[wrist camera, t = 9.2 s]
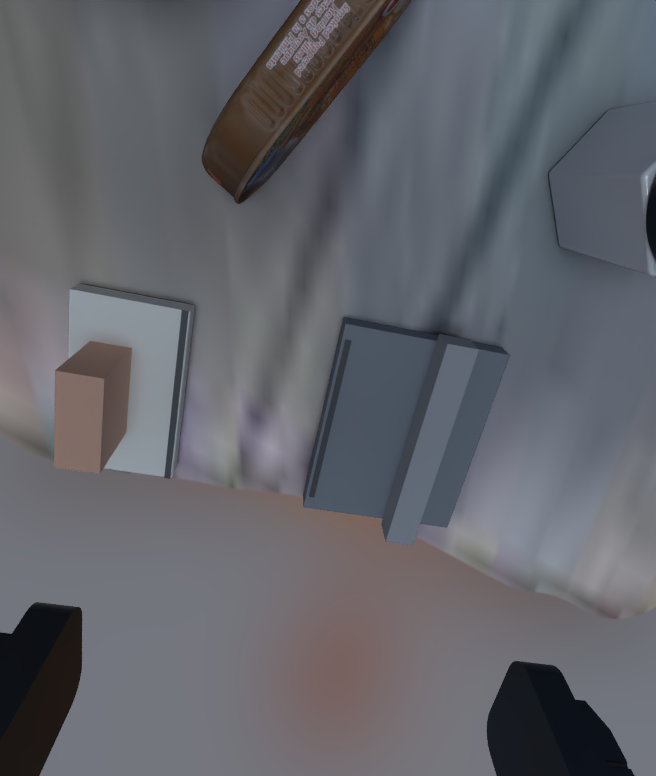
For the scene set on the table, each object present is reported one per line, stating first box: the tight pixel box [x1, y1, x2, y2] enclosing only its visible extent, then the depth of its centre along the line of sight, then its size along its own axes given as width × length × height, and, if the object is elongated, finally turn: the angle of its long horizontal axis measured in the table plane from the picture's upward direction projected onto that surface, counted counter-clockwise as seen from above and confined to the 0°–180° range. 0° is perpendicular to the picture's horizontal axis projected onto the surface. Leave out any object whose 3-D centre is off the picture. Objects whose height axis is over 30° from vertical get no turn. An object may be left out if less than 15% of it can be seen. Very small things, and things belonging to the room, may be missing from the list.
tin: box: [202, 0, 411, 204], centre depth 25 cm, size 15×3×8 cm, turn 138°
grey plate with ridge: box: [303, 317, 510, 545], centre depth 36 cm, size 11×15×4 cm
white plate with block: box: [54, 284, 195, 478], centre depth 32 cm, size 7×12×6 cm, turn 168°
